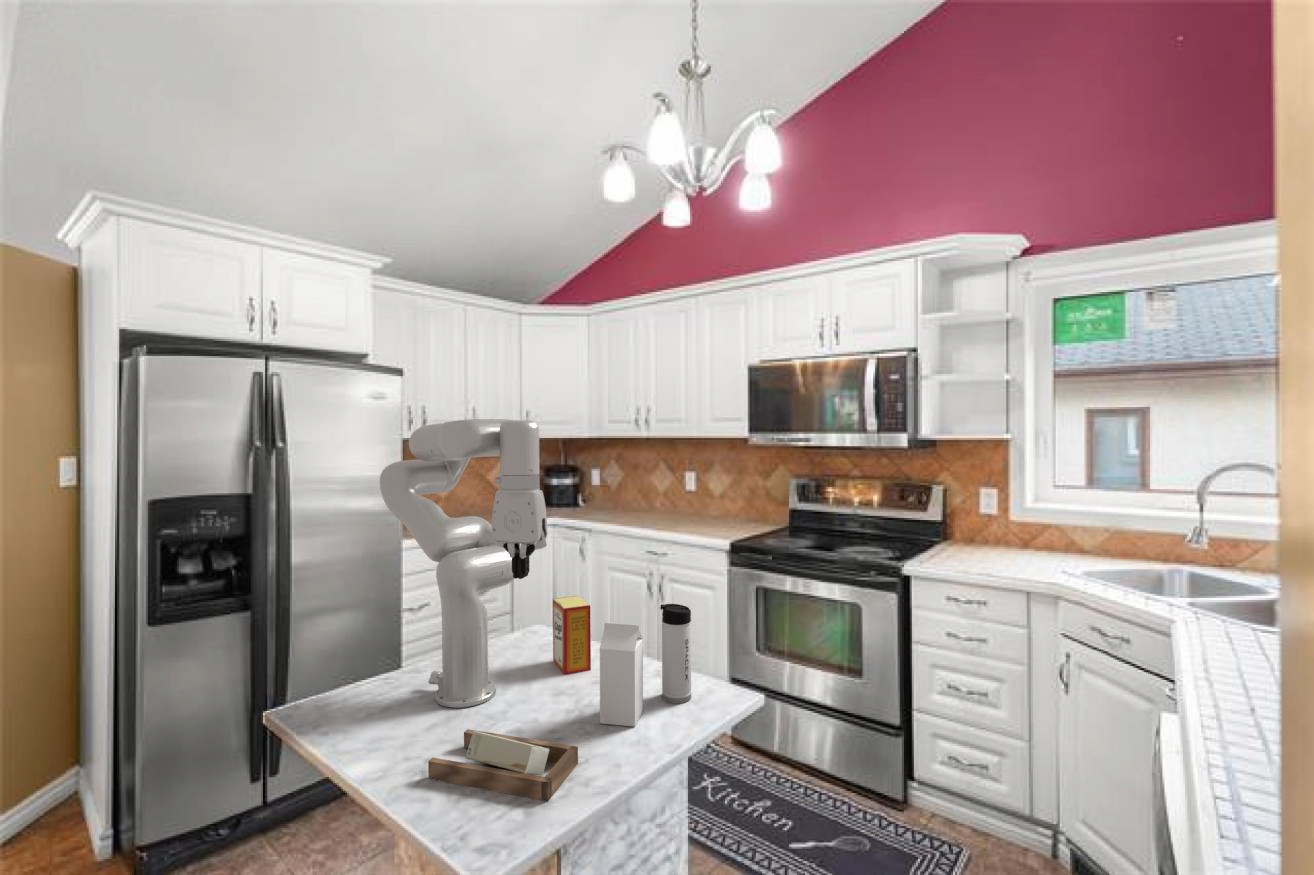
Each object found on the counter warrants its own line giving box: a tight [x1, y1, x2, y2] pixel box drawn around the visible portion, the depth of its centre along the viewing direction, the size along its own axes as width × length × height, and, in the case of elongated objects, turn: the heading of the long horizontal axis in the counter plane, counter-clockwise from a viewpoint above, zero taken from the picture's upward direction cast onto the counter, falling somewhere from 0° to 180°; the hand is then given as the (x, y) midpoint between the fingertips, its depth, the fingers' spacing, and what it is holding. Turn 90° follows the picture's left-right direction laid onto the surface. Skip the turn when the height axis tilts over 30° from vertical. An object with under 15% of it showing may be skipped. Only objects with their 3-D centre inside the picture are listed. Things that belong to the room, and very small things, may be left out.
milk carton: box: [599, 622, 644, 727], centre depth 127 cm, size 7×7×19 cm
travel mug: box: [659, 603, 692, 704], centre depth 136 cm, size 6×7×20 cm
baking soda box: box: [552, 595, 592, 676], centre depth 154 cm, size 10×6×16 cm
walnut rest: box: [427, 728, 579, 802], centre depth 108 cm, size 22×11×3 cm, turn 73°
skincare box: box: [465, 731, 549, 777], centre depth 108 cm, size 6×4×12 cm
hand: (520, 576), depth 124 cm, fingers closed
